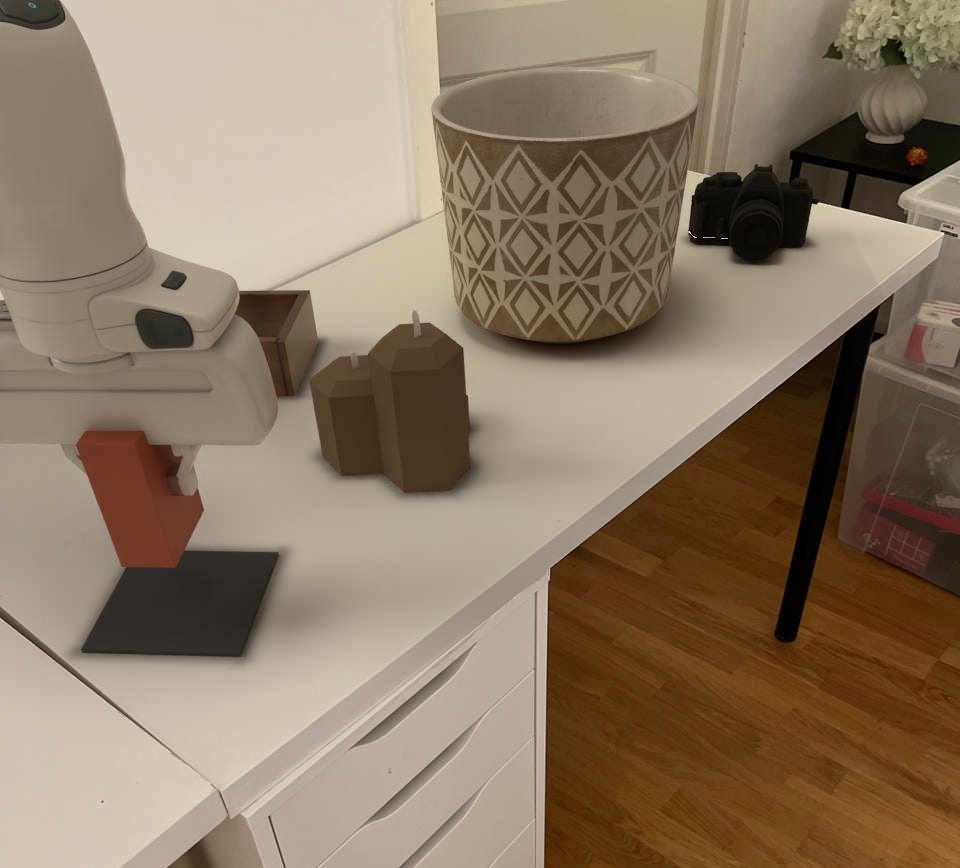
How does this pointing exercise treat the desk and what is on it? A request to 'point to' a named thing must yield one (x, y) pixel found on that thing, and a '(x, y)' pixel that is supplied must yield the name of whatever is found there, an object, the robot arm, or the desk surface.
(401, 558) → the desk surface
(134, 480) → the tea packet
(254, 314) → the compartment
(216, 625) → the felt mat
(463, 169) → the planter
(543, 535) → the desk surface
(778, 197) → the film camera
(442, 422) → the candle
